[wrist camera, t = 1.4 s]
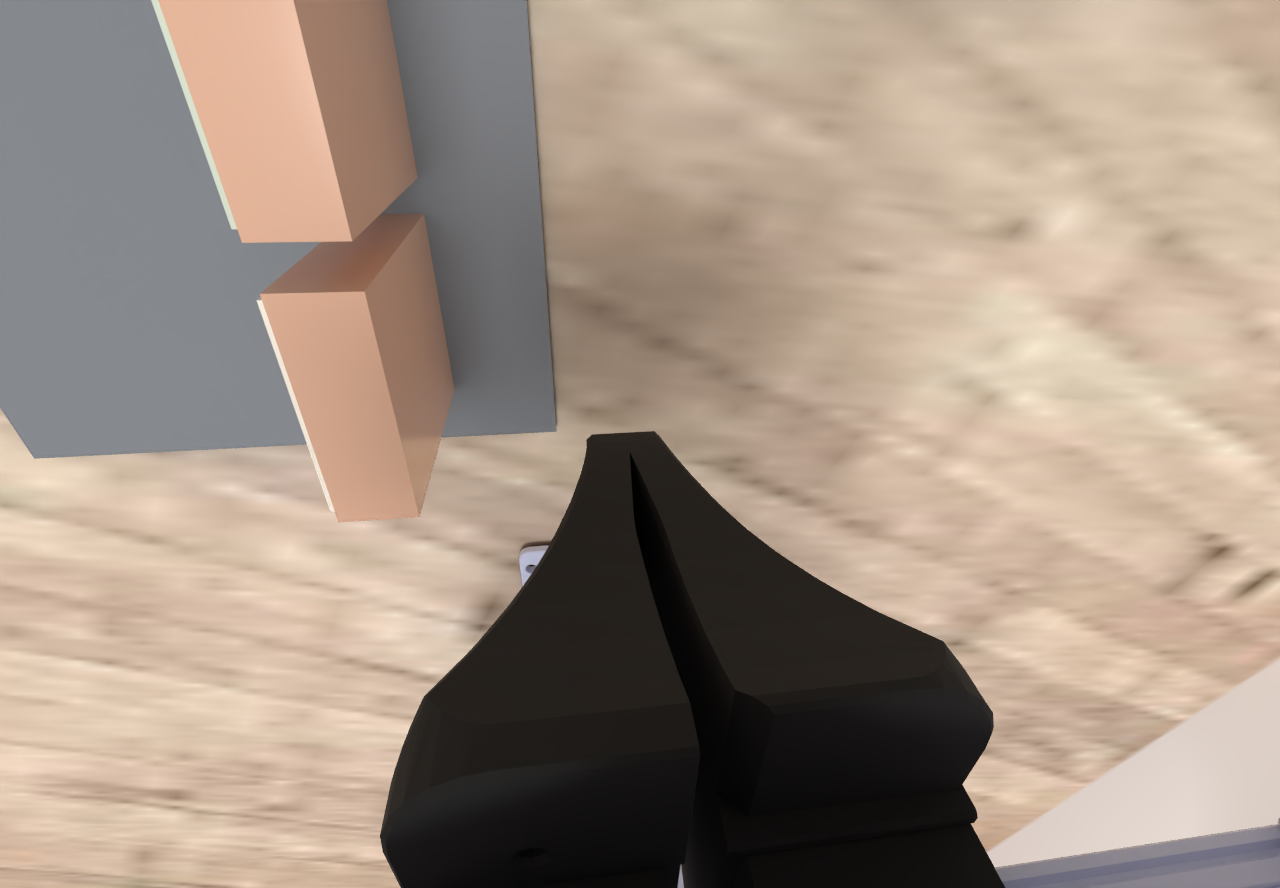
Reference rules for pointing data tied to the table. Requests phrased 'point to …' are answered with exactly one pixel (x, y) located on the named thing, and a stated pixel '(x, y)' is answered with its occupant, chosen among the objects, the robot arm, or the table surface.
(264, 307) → the tile
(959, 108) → the table surface
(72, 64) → the slate mat
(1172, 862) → the robot arm
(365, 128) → the tile
